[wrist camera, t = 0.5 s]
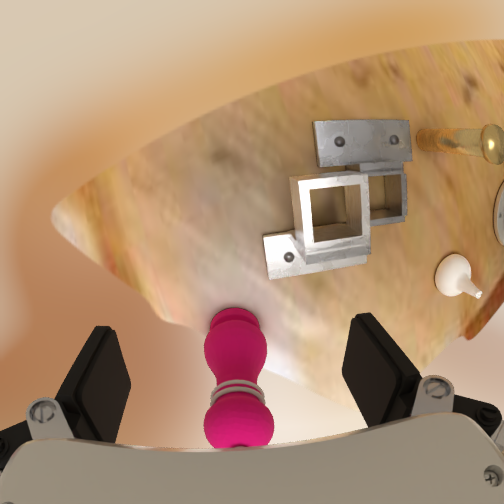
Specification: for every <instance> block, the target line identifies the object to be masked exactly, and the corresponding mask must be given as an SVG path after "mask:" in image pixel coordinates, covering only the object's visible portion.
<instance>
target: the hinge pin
mask: <svg viewBox="0 0 504 504" xmlns="http://www.w3.org/2000/svg"><path fill="white" fill-rule="evenodd" d="M416 141H417V144H418V146H419V148H420V149H421V150H423V151H433V152H444V153H454V154H463V155H471V156H479V157H484V158H485V159H486V160H487V161H488V162H489V163H492V164H498V165H499V164H501V163H503V162H504V132H503V130H502V129H501V128H500V127H499V126H498V125H493V124H488V125H485V126H484V127H483V129H422V130H420V131H419V132H418V133H417V137H416Z"/></svg>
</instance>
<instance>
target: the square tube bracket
mask: <svg viewBox="0 0 504 504" xmlns="http://www.w3.org/2000/svg"><path fill="white" fill-rule="evenodd" d="M289 180H290V188H291V197H292V206H293V216H294V225H295V230H289V231H288V232H282V233H275V234H268V235H263V241H264V249H265V256H266V264H267V272H268V278H269V280H271V279H277V278H284V277H290V276H296V275H302V274H308V273H314V272H320V271H325V270H331V269H337V268H343V267H348V266H354V265H359V264H365V263H367V255H368V254H371V245H370V204H369V185H368V174H365V173H360V172H355V171H340V172H329V173H319V174H310V175H301V176H292V177H289ZM336 186H344V189H345V204H346V221H347V223H344V224H341V223H338V224H331V225H324V226H317V227H312V215H311V204H310V194H309V189H318V188H327V187H336Z"/></svg>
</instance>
